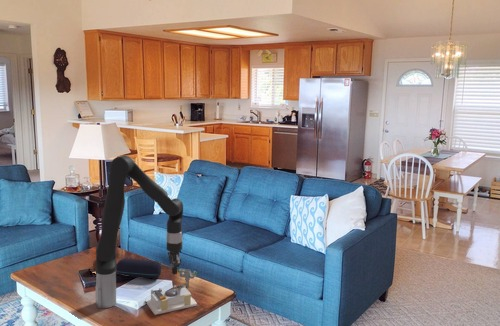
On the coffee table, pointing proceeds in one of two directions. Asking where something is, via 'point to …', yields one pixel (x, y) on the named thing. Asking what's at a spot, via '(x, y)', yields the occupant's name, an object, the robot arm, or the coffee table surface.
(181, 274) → the mechanical component
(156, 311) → the base
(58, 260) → the coffee table surface
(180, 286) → the strap far
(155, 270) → the portable speaker
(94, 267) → the cup and saucer
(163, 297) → the strap near
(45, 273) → the coffee table surface
